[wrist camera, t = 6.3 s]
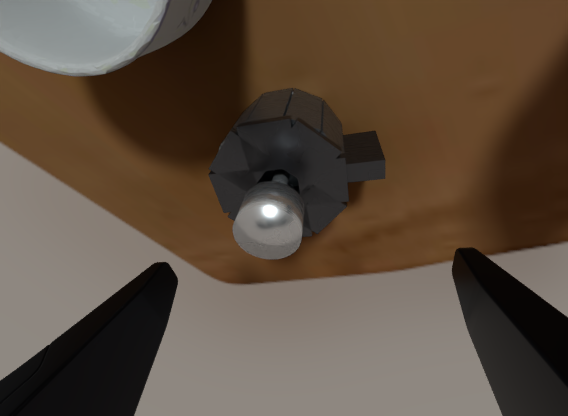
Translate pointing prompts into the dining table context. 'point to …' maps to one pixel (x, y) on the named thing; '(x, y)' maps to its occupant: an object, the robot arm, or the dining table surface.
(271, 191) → the plunger
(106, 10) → the teacup
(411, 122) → the dining table surface
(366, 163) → the octagonal grey mug
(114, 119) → the dining table surface
